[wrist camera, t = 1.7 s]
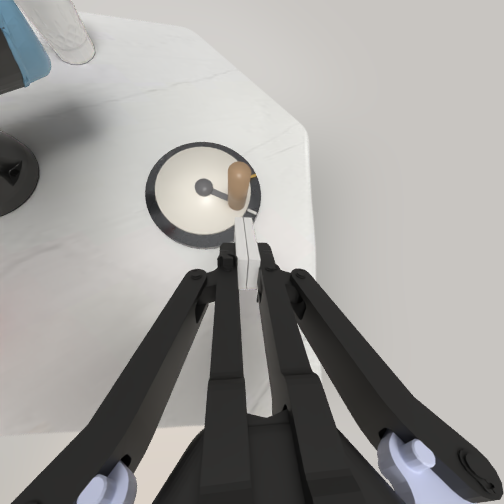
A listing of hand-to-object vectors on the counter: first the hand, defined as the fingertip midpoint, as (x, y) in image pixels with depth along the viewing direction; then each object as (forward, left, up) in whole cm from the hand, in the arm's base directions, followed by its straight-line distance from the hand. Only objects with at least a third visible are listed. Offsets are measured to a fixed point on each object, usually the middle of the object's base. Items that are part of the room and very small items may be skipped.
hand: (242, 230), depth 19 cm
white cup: (-51, +2, -17) cm, 54 cm away
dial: (-12, +3, -15) cm, 19 cm away
